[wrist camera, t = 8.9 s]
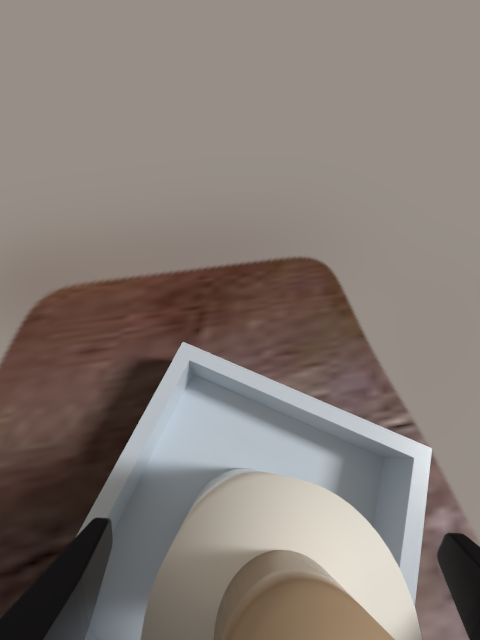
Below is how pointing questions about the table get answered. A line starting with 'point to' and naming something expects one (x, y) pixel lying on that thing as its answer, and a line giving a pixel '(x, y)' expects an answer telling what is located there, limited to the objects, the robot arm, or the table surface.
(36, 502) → the table surface
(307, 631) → the dressing bottle
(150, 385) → the table surface
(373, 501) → the bin
